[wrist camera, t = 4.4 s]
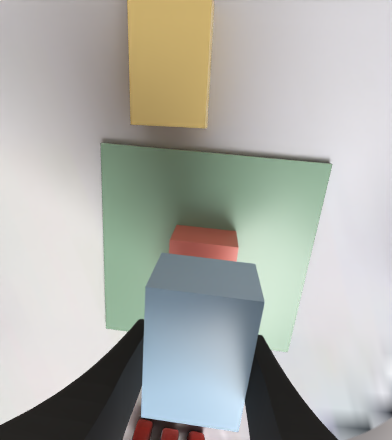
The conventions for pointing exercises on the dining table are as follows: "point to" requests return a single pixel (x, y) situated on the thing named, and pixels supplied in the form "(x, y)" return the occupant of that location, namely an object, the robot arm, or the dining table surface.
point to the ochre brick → (170, 61)
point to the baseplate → (209, 222)
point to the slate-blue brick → (199, 340)
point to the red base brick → (204, 243)
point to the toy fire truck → (168, 435)
